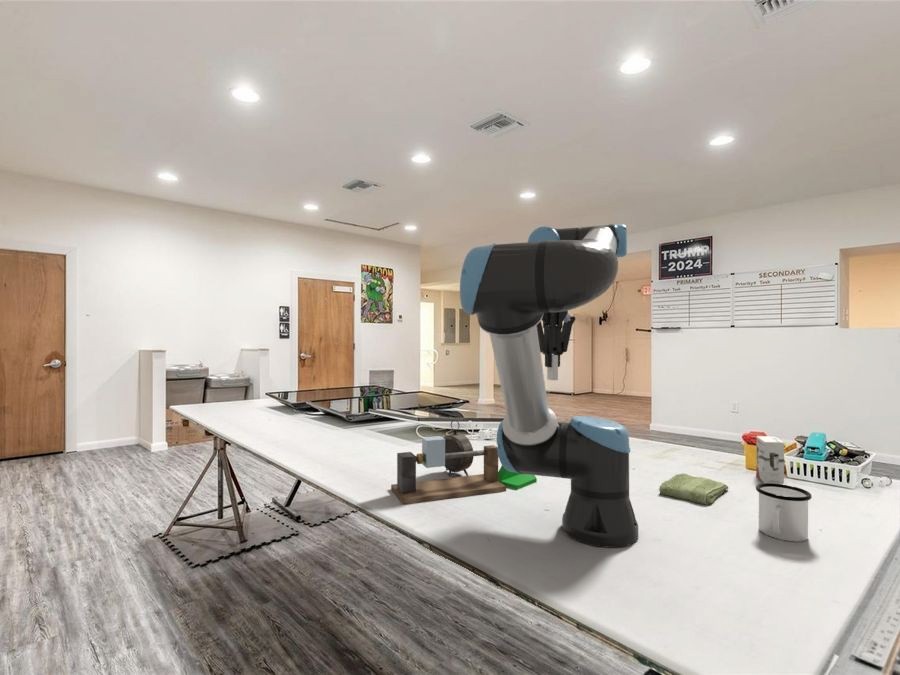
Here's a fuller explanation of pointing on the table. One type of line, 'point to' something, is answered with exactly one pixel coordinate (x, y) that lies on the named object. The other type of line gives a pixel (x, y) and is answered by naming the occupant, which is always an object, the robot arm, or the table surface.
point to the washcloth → (693, 488)
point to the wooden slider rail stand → (445, 487)
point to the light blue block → (433, 451)
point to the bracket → (515, 479)
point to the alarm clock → (454, 445)
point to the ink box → (770, 459)
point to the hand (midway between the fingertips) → (552, 379)
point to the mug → (783, 511)
